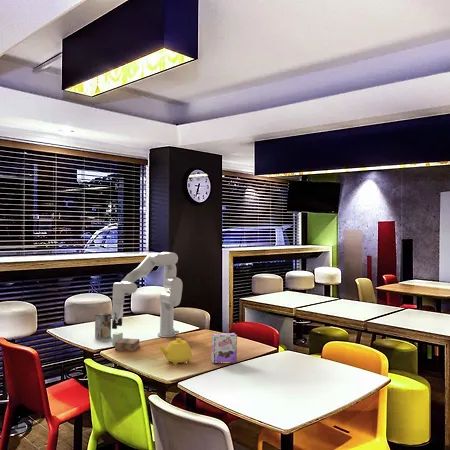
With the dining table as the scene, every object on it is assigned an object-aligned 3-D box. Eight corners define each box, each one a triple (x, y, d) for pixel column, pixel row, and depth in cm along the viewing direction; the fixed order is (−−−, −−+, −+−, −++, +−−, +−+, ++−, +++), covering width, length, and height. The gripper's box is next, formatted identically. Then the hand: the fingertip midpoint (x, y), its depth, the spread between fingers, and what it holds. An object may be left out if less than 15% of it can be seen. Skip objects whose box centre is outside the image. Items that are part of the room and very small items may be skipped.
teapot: (163, 368, 251) (164, 344, 251) (153, 361, 264) (153, 337, 265) (196, 364, 261) (196, 340, 261) (184, 357, 275) (184, 334, 275)
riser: (139, 346, 297) (139, 339, 297) (133, 351, 285) (133, 343, 285) (121, 345, 298) (121, 338, 298) (115, 350, 286) (115, 342, 286)
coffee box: (105, 335, 323) (105, 312, 323) (111, 336, 319) (111, 314, 319) (94, 337, 316) (95, 314, 316) (100, 339, 312) (100, 315, 312)
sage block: (122, 343, 303) (122, 332, 303) (119, 345, 298) (120, 334, 298) (115, 342, 304) (115, 332, 304) (112, 344, 299) (112, 334, 299)
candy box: (213, 364, 261) (214, 335, 261) (211, 361, 267) (211, 333, 267) (236, 363, 265) (237, 334, 265) (233, 360, 270) (234, 332, 270)
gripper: (117, 299, 310) (116, 324, 309) (107, 302, 293) (106, 329, 292) (127, 299, 309) (126, 325, 309) (119, 303, 292) (118, 330, 291)
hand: (117, 327), depth 300 cm, fingers open, 9 cm apart
